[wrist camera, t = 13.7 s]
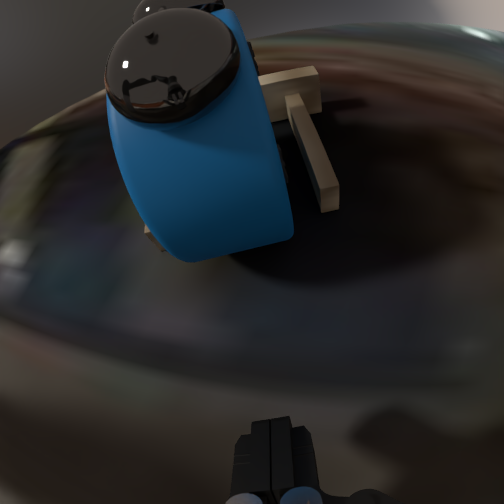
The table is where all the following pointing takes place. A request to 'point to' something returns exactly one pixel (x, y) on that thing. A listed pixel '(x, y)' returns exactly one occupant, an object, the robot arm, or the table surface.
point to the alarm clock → (196, 131)
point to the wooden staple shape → (299, 128)
